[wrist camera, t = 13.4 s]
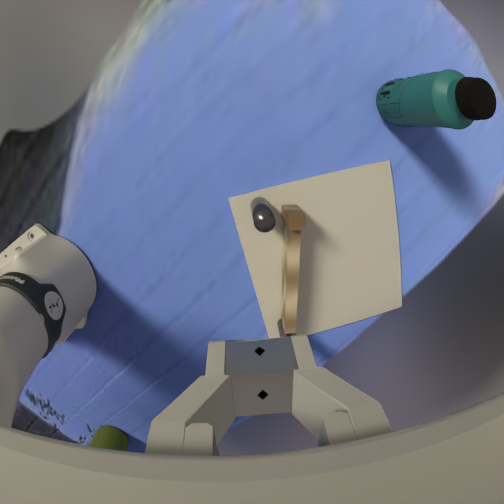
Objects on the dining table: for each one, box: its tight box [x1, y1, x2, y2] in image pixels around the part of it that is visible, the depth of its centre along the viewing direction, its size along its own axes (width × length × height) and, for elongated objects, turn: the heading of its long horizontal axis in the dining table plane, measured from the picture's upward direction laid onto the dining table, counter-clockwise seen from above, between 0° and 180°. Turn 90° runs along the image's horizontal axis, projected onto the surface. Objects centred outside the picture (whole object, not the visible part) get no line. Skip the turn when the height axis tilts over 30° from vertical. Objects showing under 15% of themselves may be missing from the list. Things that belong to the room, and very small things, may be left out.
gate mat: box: [229, 160, 402, 338], centre depth 46 cm, size 23×24×1 cm
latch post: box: [250, 197, 276, 233], centre depth 39 cm, size 2×2×8 cm
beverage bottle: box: [376, 69, 496, 129], centre depth 29 cm, size 6×7×20 cm
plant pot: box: [89, 426, 128, 451], centre depth 55 cm, size 12×12×11 cm
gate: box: [281, 205, 306, 334], centre depth 43 cm, size 17×2×6 cm, turn 1°
